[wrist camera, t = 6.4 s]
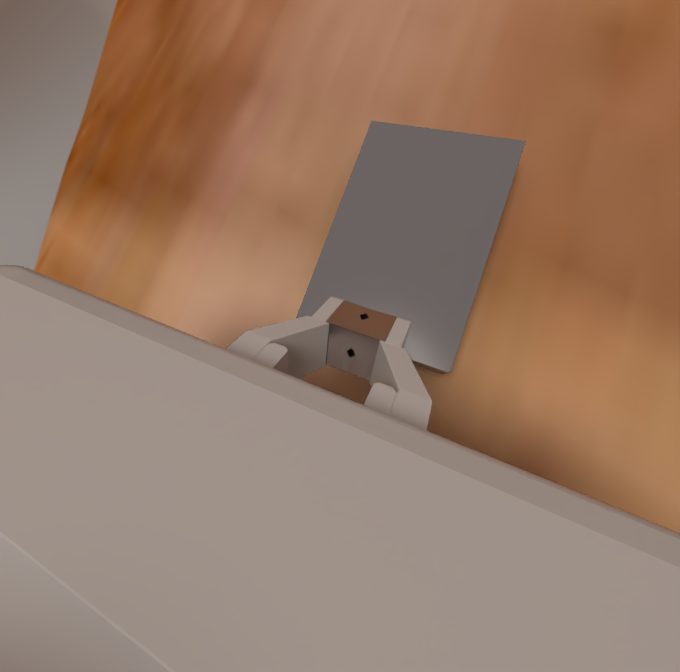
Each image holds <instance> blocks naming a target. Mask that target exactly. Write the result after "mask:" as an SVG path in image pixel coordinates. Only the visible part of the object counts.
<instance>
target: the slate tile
mask: <svg viewBox="0 0 680 672" xmlns="http://www.w3.org/2000/svg"><path fill="white" fill-rule="evenodd" d="M525 142H526V141H522V140H514V139H506V138H499V137H491V136H483V135H476V134H468V133H460V132H453V131H445V130H437V129H430V128H422V127H414V126H407V125H399V124H391V123H384V122H376V121H371V124H370V127H369V129H368V132H367V134H366V137H365V140H364V142H363V145H362V147H361V150H360V153H359V155H358V158H357V161H356V163H355V166H354V168H353V171H352V174H351V176H350V179H349V181H348V184H347V187H346V189H345V192H344V194H343V197H342V200H341V202H340V205H339V208H338V210H337V213H336V215H335V218H334V221H333V223H332V226H331V228H330V231H329V234H328V236H327V239H326V241H325V244H324V247H323V249H322V252H321V255H320V257H319V260H318V262H317V265H316V268H315V270H314V273H313V275H312V278H311V281H310V283H309V286H308V288H307V291H306V294H305V296H304V299H303V302H302V304H301V307H300V309H299V312H298V315H297V317H296V318H300V317H304V316H310V317H312V316H313V315H314V313H315V312H316V311H317V310H318V309H319V308H320V307H321V306H322V305H323V304H324V303H325V302H326V301H327V300H328V299H329V298H330V297H332V296H333V297H337V298H340V299H343V300H346V301H349V302H352V303H355V304H358V305H361V306H364V307H367V308H370V309H372V310H375V311H379V312H382V313H386V314H389V315H393V316H396V317H400V318H404V319H407V320H411V321H412V323H411V326H410V329H409V332H408V335H407V338H406V342H405V345H404V349H406V351H407V353H408V355H409V357H410V359H411V360H412V362H413V364H415V365H418V366H421V367H424V368H427V369H430V370H433V371H435V372H438V373H441V374H448V373H450V372H451V368H452V365H453V362H454V359H455V356H456V353H457V350H458V347H459V344H460V341H461V338H462V335H463V332H464V329H465V326H466V323H467V320H468V317H469V313H470V310H471V307H472V304H473V301H474V298H475V295H476V292H477V289H478V286H479V283H480V280H481V277H482V274H483V271H484V268H485V265H486V262H487V258H488V255H489V252H490V249H491V246H492V243H493V240H494V237H495V234H496V231H497V228H498V225H499V222H500V219H501V216H502V213H503V210H504V207H505V203H506V200H507V197H508V194H509V191H510V188H511V185H512V182H513V179H514V176H515V173H516V170H517V167H518V164H519V161H520V158H521V155H522V152H523V148H524V145H525Z"/></svg>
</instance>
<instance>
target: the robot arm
mask: <svg viewBox="0 0 680 672" xmlns="http://www.w3.org/2000/svg"><path fill="white" fill-rule="evenodd" d="M411 323H412V321H411V320H407V319H404V318H400V317H396V316H393V315H389V314H386V313H382V312H379V311H375V310H372V309H370V308H367V307H364V306H361V305H358V304H355V303H352V302H349V301H346V300H343V299H340V298H337V297H333V296H332V297H330V298H329V299H328V300H327V301H326V302H325V303H324V304H323V305H322V306H321V307H320V308H319V309H318V310H317V311H316V312H315V313H314V315H313V316H312V317H310V316H304V317H300V318H296V319H292V320H288V321H285V322H281V323H277V324H273V325H269V326H265V327H261V328H257V329H253V330H249V331H246V332H245V333H244V334H243V335H241V336H240V337H239V338H238V339H237V340H235V341H234V342H233V343H232V344H231V345H229V346H228V347H227V348H226V349H224V348H222V347H219V346H217V345H215V344H212V343H210V342H207V341H205V340H202V339H200V338H197V337H195V336H192V335H190V334H188V333H185V332H183V331H180V330H178V329H175V328H173V327H170V326H168V325H165V324H163V323H160V322H158V321H156V320H153V319H151V318H148V317H146V316H143V315H141V314H138V313H136V312H133V311H131V310H128V309H126V308H124V307H121V306H119V305H116V304H114V303H111V302H109V301H106V300H104V299H101V298H99V297H97V296H94V295H92V294H89V293H87V292H84V291H82V290H79V289H77V288H74V287H72V286H69V285H67V284H65V283H62V282H60V281H57V280H55V279H52V278H50V277H47V276H45V275H43V274H40V273H38V272H36V271H33V270H31V269H28V268H25V267H22V266H16V265H0V672H680V533H678V532H675V531H673V530H671V529H668V528H666V527H663V526H661V525H658V524H656V523H653V522H651V521H648V520H646V519H643V518H641V517H638V516H636V515H634V514H631V513H629V512H626V511H624V510H621V509H619V508H616V507H614V506H611V505H609V504H606V503H604V502H602V501H599V500H597V499H594V498H592V497H589V496H587V495H584V494H582V493H579V492H577V491H574V490H572V489H570V488H567V487H565V486H562V485H560V484H557V483H555V482H552V481H550V480H547V479H545V478H542V477H540V476H537V475H535V474H533V473H530V472H528V471H525V470H523V469H520V468H518V467H515V466H513V465H510V464H508V463H505V462H503V461H501V460H498V459H496V458H493V457H491V456H488V455H486V454H483V453H481V452H478V451H476V450H473V449H471V448H468V447H466V446H463V445H461V444H458V443H456V442H453V441H451V440H449V439H446V438H444V437H441V436H439V435H436V434H434V433H431V432H429V431H427V426H428V421H429V416H430V411H431V406H432V400H431V398H430V396H429V394H428V392H427V390H426V388H425V386H424V384H423V382H422V380H421V378H420V376H419V374H418V372H417V370H416V368H415V366H414V364H413V362H412V360H411V359H410V357H409V355H408V353H407V351H406V349H404V345H405V342H406V338H407V335H408V332H409V329H410V326H411ZM325 364H326V365H329V366H332V367H335V368H338V369H340V370H343V371H346V372H349V373H351V374H354V375H356V376H359V377H361V378H363V379H366V380H368V381H370V386H371V390H370V392H369V395H368V397H367V399H366V401H365V403H364V405H363V404H360V403H358V402H355V401H353V400H350V399H348V398H345V397H343V396H340V395H338V394H335V393H333V392H331V391H328V390H326V389H323V388H321V387H318V386H316V385H313V384H311V383H308V382H306V381H303V380H301V379H300V378H302V377H304V376H306V375H308V374H310V373H312V372H314V371H316V370H318V369H320V368H321V367H323V366H325Z"/></svg>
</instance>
